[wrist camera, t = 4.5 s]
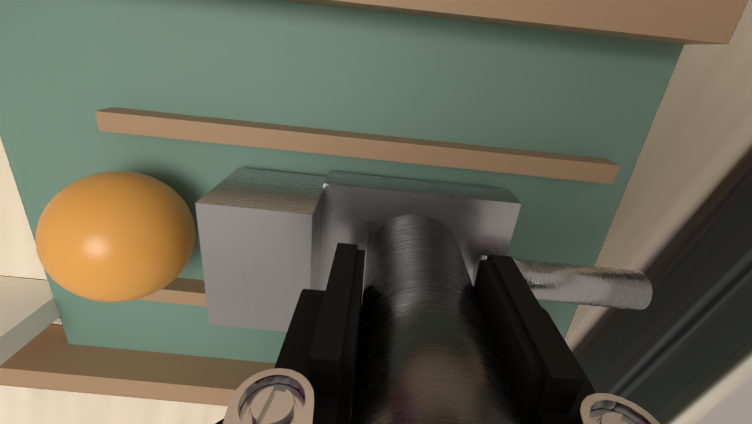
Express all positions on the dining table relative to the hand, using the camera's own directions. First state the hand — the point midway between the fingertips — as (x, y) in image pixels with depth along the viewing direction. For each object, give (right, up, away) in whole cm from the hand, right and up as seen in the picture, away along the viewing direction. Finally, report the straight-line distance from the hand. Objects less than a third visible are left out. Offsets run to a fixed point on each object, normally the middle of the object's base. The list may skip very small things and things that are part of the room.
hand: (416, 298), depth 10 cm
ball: (-9, +2, +1) cm, 9 cm away
